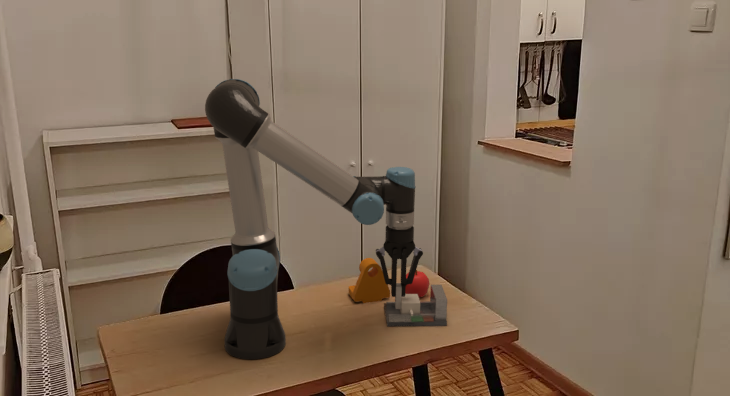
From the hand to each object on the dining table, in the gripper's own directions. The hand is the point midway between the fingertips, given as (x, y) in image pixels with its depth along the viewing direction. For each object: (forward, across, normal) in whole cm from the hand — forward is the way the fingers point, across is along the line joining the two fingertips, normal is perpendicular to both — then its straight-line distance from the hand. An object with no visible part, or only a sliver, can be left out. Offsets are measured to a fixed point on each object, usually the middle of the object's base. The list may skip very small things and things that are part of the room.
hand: (397, 306), depth 182 cm
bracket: (+3, -7, +13) cm, 15 cm away
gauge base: (+3, +5, 0) cm, 5 cm away
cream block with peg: (+2, +3, -1) cm, 4 cm away
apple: (+3, +7, +14) cm, 16 cm away
